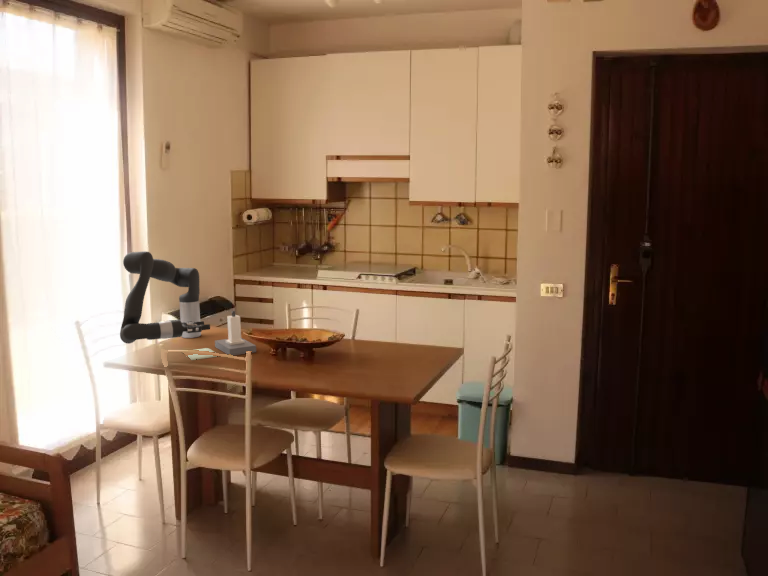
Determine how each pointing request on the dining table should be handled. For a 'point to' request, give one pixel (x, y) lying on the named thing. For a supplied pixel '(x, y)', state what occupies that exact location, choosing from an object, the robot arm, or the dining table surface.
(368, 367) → the dining table surface
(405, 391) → the dining table surface
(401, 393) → the dining table surface
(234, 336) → the plug
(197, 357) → the mat
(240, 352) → the grey slotted block
